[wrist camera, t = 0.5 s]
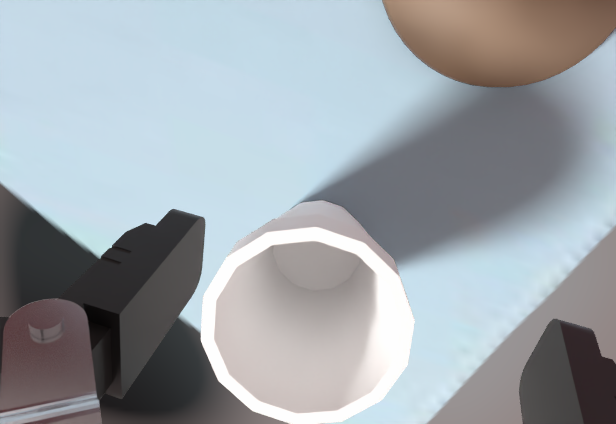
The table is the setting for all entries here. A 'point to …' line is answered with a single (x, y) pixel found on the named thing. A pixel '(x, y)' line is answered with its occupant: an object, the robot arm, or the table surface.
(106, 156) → the table surface
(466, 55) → the walnut board
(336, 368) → the foam cup
